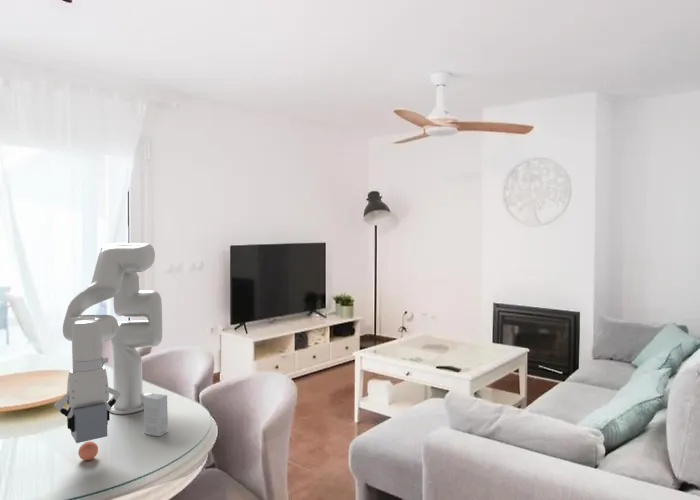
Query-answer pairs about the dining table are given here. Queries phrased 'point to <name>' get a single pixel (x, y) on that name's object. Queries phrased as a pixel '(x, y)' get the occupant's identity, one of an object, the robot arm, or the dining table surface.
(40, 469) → the dining table surface
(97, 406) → the grey matte cube
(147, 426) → the skincare box
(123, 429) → the dining table surface
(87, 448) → the ball
